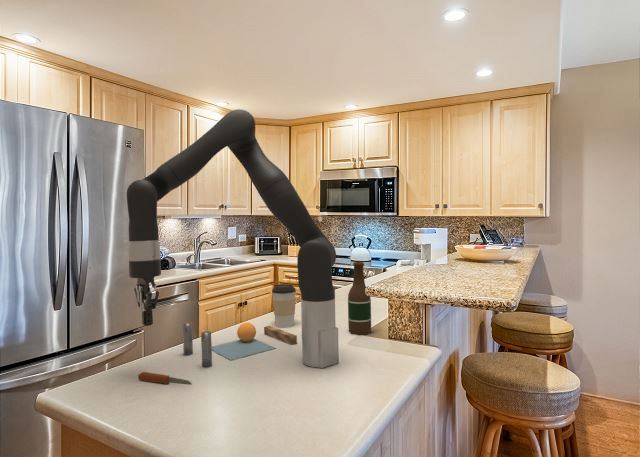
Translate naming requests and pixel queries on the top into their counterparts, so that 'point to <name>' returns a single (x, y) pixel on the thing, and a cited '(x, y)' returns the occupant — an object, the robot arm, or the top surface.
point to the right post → (206, 349)
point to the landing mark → (241, 349)
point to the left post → (187, 338)
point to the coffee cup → (284, 304)
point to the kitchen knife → (161, 378)
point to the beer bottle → (359, 304)
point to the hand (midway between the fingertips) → (147, 325)
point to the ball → (246, 332)
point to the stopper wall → (280, 335)
